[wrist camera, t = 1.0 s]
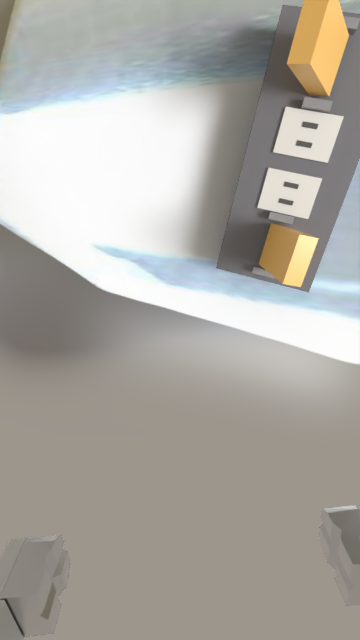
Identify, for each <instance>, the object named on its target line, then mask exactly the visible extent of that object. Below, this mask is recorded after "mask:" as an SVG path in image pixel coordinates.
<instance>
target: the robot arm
mask: <svg viewBox="0 0 360 640" xmlns="http://www.w3.org/2000/svg"><path fill="white" fill-rule="evenodd" d="M321 519H322V521H323V524H322V525H321V526H320V531H319V536H320V542H321V546H322V549H323V552H324V555H325V557H326V560H327V562H328V563H329V564H330V565H331V566H332V567H334V568H335V569H336V573H335V581H336V583H337V585H338V588H339V590H340V592H341V595H342V597H343V599H344V602H345V604H346V606H350V605H360V505H359V506H354V505H353V506H345V507H336V508H328V509H323V510H322V511H321ZM63 544H64V540H63V538H62V535H56V536H55V535H54V536H43V537H30V538H29V537H27V538H17V539H11V540H10V542H9V543H8V544H7V545H6V547H5V549H4V551H3V553H2V556H1V558H0V640H24V637H30V636H38V635H46V634H53V633H54V631H55V628H56V624H57V620H58V616H59V612H60V609H61V602H60V599H59V595H60V594H61V593H62V592H63V591H64V589H65V588H66V586H67V581H68V577H69V569H70V559H69V554H68V552H67V551H66V550H65V549H63Z"/></svg>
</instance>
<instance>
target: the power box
mask: <svg viewBox="0 0 360 640" xmlns="http://www.w3.org/2000/svg"><path fill="white" fill-rule="evenodd" d="M301 9H302V7H297V6H288V5H283V6H282V10H281V14H280V18H279V22H278V26H277V30H276V34H275V38H274V42H273V46H272V50H271V54H270V58H269V62H268V66H267V70H266V74H265V77H264V81H263V85H262V89H261V93H260V97H259V101H258V105H257V109H256V113H255V117H254V121H253V125H252V129H251V133H250V137H249V141H248V145H247V149H246V153H245V157H244V161H243V165H242V168H241V172H240V176H239V180H238V184H237V188H236V192H235V196H234V200H233V204H232V208H231V212H230V216H229V220H228V224H227V228H226V232H225V236H224V240H223V244H222V248H221V252H220V255H219V259H218V263H217V267H216V268H218V269H222V270H226V271H230V272H233V273H237V274H241V275H245V276H249V277H252V278H256V279H260V280H264V281H268V282H271V283H275V284H279V285H283V286H287V287H291V288H294V289H298V290H302V291H306V292H309V290H310V288H311V285H312V282H313V280H314V277H315V274H316V272H317V269H318V267H319V264H320V261H321V259H322V256H323V253H324V251H325V248H326V245H327V243H328V240H329V238H330V235H331V232H332V230H333V227H334V224H335V222H336V219H337V217H338V214H339V211H340V209H341V206H342V203H343V201H344V198H345V196H346V193H347V190H348V188H349V185H350V182H351V180H352V177H353V175H354V172H355V169H356V167H357V164H358V161H359V159H360V14H355V13H347V12H342V13H343V17H344V20H345V23H346V27H347V30H348V34H349V37H348V40H347V43H346V47H345V50H344V53H343V56H342V59H341V62H340V65H339V68H338V71H337V74H336V77H335V80H334V83H333V87H332V90H331V93H330V96H329V97H322V96H309V94H308V93H307V91H306V90H305V89H304V87H303V86H302V84H301V83H300V82H299V80H298V79H297V77H296V76H295V75H294V73H293V72H292V70H291V69H290V68H289V66H288V65H287V61H288V57H289V53H290V50H291V46H292V42H293V39H294V35H295V31H296V28H297V24H298V20H299V17H300V13H301ZM271 223H273V224H278V225H282V226H287V227H290V228H292V229H295V230H298V231H300V232H303V233H306V234H308V235H311V236H314V237H316V238H319V239H318V242H317V245H316V247H315V250H314V253H313V255H312V258H311V261H310V264H309V266H308V269H307V272H306V274H305V277H304V280H303V283H302V285H301V287H297V286H291V285H286V284H282V283H281V282H280V281H279V280H277V279H276V278H275V277H274V276H272V275H271V274H270V273H269V272H268V271H266V270H265V269H264V268H263V267H262V266H260V265H259V261H260V258H261V255H262V251H263V248H264V245H265V241H266V238H267V235H268V232H269V228H270V225H271Z"/></svg>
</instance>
